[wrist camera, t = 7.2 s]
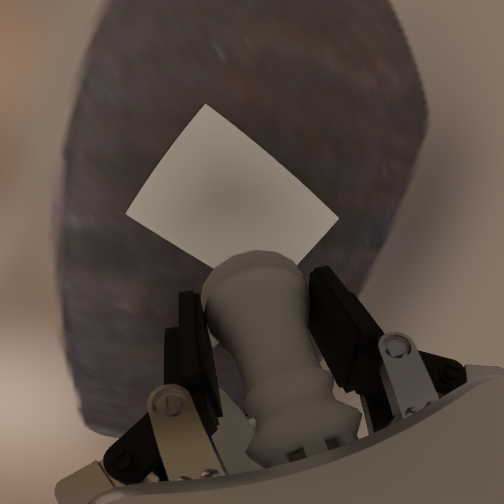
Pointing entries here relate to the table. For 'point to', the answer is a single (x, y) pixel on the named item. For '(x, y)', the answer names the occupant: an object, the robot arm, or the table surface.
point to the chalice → (233, 434)
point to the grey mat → (228, 197)
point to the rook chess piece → (276, 358)
